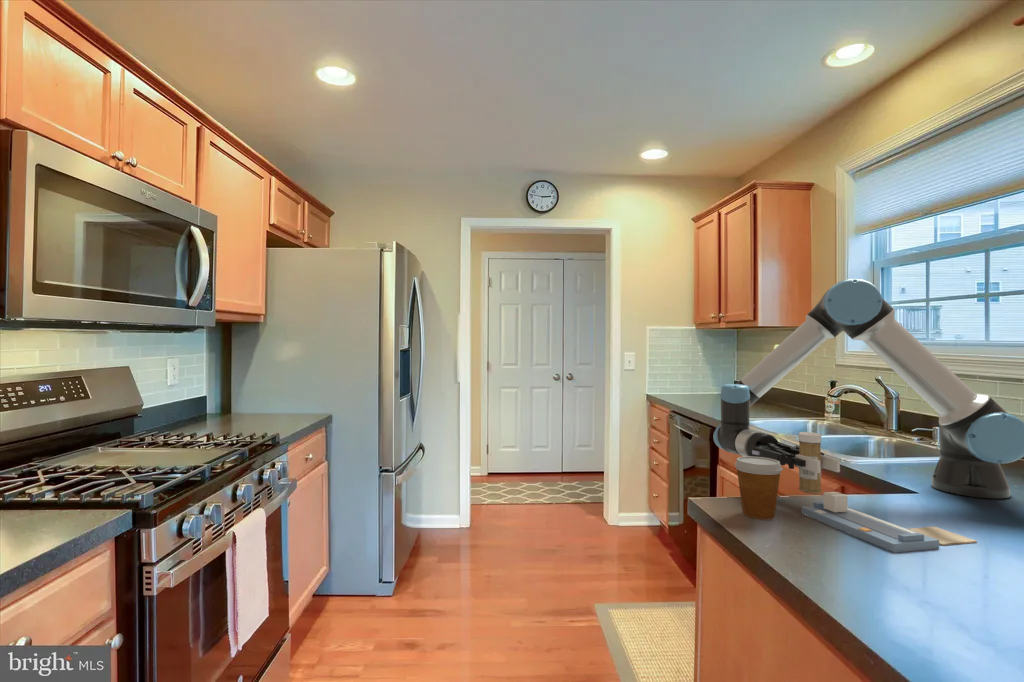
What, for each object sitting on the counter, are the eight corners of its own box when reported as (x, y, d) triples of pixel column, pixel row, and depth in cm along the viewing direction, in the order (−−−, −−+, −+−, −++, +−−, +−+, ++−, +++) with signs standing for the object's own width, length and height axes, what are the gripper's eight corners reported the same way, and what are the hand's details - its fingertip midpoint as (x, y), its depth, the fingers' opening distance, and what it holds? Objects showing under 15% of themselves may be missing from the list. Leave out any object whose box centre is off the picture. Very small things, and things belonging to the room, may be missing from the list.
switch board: (839, 511, 115) (839, 499, 115) (939, 548, 93) (938, 534, 93) (801, 513, 113) (801, 502, 113) (893, 552, 91) (893, 538, 91)
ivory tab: (836, 507, 112) (835, 490, 112) (847, 511, 109) (847, 494, 109) (823, 508, 111) (823, 491, 111) (834, 512, 108) (834, 495, 108)
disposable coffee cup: (726, 508, 116) (726, 456, 116) (766, 507, 117) (766, 455, 117) (749, 522, 107) (749, 465, 107) (792, 521, 107) (792, 464, 108)
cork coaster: (934, 527, 104) (934, 526, 104) (976, 542, 96) (976, 540, 96) (901, 530, 102) (901, 529, 102) (942, 545, 94) (942, 543, 94)
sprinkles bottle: (825, 492, 116) (825, 433, 116) (815, 495, 114) (815, 435, 114) (804, 487, 120) (804, 430, 120) (794, 490, 117) (794, 432, 118)
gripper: (786, 459, 136) (862, 481, 113) (728, 461, 133) (794, 485, 110) (786, 431, 136) (862, 448, 113) (728, 432, 133) (794, 450, 110)
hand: (828, 466), depth 112 cm, fingers closed on sprinkles bottle, 4 cm apart
